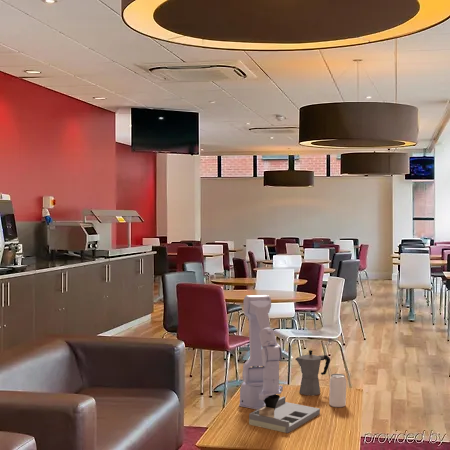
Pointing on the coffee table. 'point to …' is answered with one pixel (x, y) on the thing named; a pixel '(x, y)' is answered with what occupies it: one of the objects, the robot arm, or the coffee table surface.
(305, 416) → the box
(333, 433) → the coffee table surface
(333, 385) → the can
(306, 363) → the coffeepot
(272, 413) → the block
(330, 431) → the coffee table surface
